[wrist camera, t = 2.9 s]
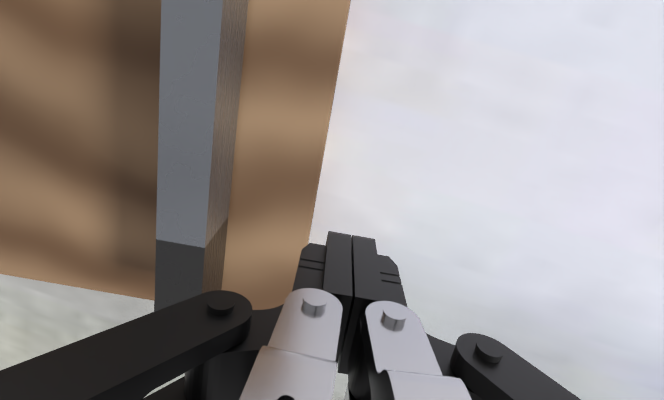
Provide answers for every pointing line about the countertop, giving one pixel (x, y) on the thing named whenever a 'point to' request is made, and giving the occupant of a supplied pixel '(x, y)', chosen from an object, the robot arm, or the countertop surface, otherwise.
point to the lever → (196, 142)
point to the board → (154, 142)
